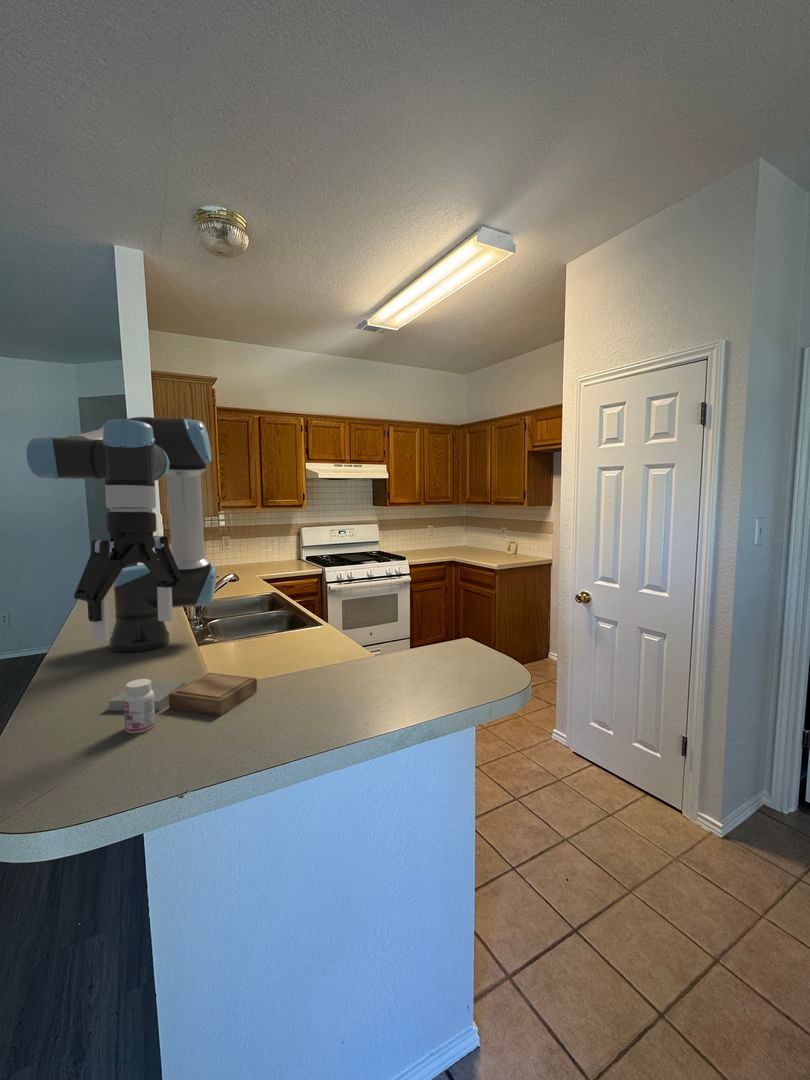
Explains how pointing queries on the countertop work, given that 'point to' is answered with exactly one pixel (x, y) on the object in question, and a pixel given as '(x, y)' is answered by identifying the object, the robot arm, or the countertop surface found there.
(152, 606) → the robot arm
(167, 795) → the countertop surface
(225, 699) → the walnut stand
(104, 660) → the countertop surface
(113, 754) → the countertop surface
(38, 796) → the countertop surface
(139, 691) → the pill bottle
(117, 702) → the slate tile
